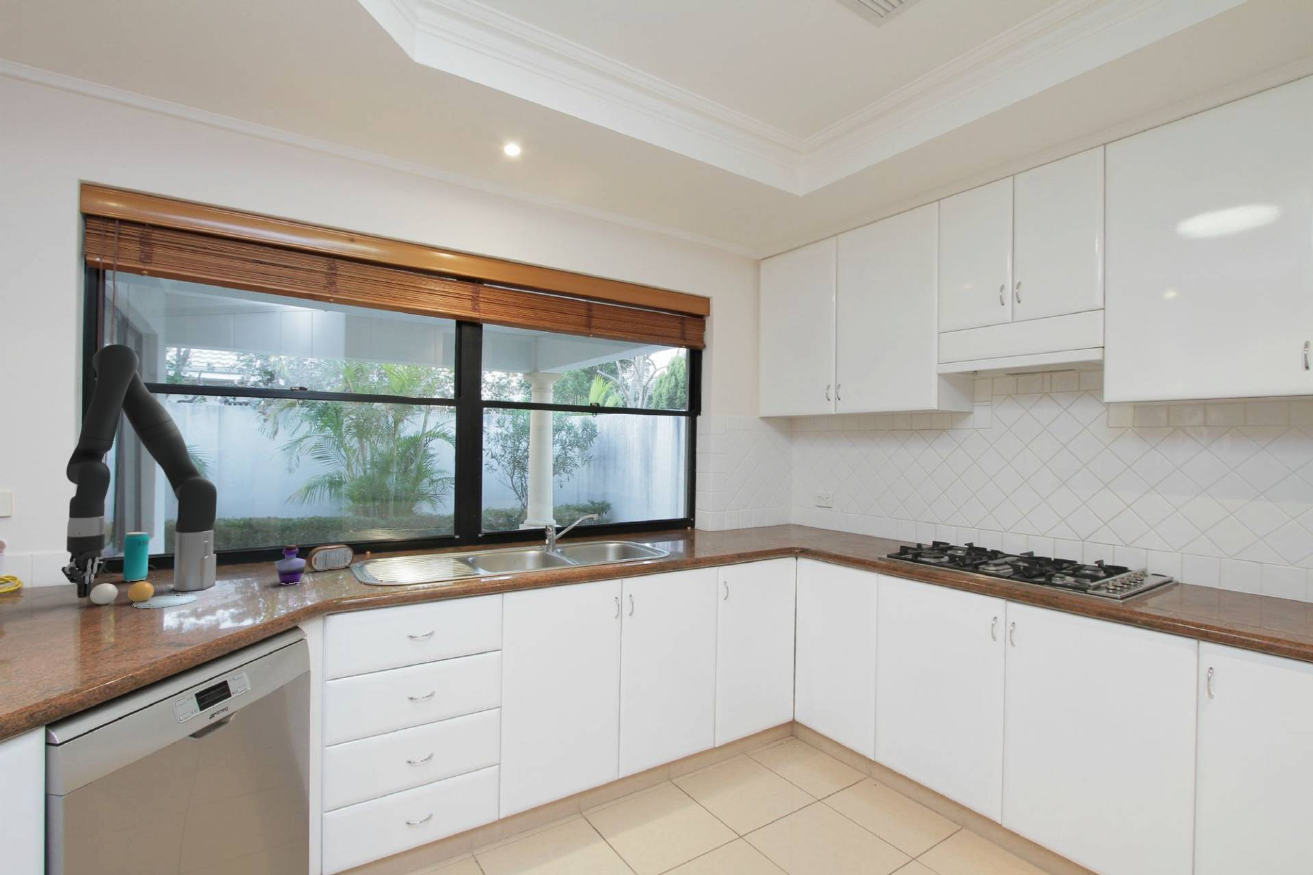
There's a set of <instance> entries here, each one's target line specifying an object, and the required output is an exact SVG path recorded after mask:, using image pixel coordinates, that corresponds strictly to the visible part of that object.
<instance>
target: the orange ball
mask: <svg viewBox="0 0 1313 875" xmlns="http://www.w3.org/2000/svg"><path fill="white" fill-rule="evenodd" d="M154 593H155V588H154V586H153V584H151V583H150V582H148V581H139V582H134V584H132V585H131V586H130V587H129V588H128V589H127V597H128V598H129V600H131V602H133V603H134V602H143V601H146V600H148V599H150V598H152V597H153V595H154Z"/></svg>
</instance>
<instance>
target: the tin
mask: <svg viewBox="0 0 1313 875" xmlns="http://www.w3.org/2000/svg"><path fill="white" fill-rule="evenodd" d="M354 558H355V552H354V550H353V549H352V548H351V547H349V546H348V545H346V544H335V545H333V544H332V545H323V546H318V547H317V546H316V548H313V549H312V550H311V551H310V552H309V553H308V555H307V557H306V565H307V566H308V568H309V569H310V570H312V569H313V571H315V570H318V569H328V568H331V567H341V566H344V565H349V566H351V564H352V563H353V561H354Z"/></svg>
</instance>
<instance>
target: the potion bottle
mask: <svg viewBox="0 0 1313 875" xmlns="http://www.w3.org/2000/svg"><path fill="white" fill-rule="evenodd" d="M299 550H300V549H299V548H297V545H296V544H287V545H285V546H284V549H282V554H283V556H284V555H285V557H284V559H280V560H277V561H274V564H275V565H274V566H275V571H276V572H277V576H278V580H279V583H280V582H281V583H285V584H289V583H294V582H300V581H301V577H302V574H304V572H305V569H306V566H305V565H306V564H307V559H306V560H305V559H303V558H299V557H298V558H297V554H299Z"/></svg>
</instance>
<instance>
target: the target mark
mask: <svg viewBox="0 0 1313 875" xmlns="http://www.w3.org/2000/svg"><path fill="white" fill-rule="evenodd" d="M167 595H168V594H166V596H165V595H158V596H152V597H151V598H150V599H148V600H146V601H143V602H134V601H133V603H132V604H133V605H132V604H131V606H132V607H133V606H134V607H133V608H135V607H136V606H140V607H137V608H136V609H143V608H150V609H160V608H161V609H162V607H164V608H169V607H168V606H172V607H177V605H178V606H181V605H180V604H182V605H186V603H187V604H190V603H192V602H195V601H196V600H198V596H197V595H193V594H182V593H181V594H179V595H180V596H176V595H177V594H174V595H175V596H167ZM181 595H183V596H181ZM184 595H185V596H184ZM187 595H188V596H187ZM189 595H190V596H189ZM191 595H192V596H191ZM194 600H195V601H194ZM189 602H190V603H189ZM136 604H138V605H136ZM148 604H151V605H148ZM143 606H144V607H143ZM145 606H146V607H145ZM149 606H151V607H149ZM152 606H153V607H152Z"/></svg>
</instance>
